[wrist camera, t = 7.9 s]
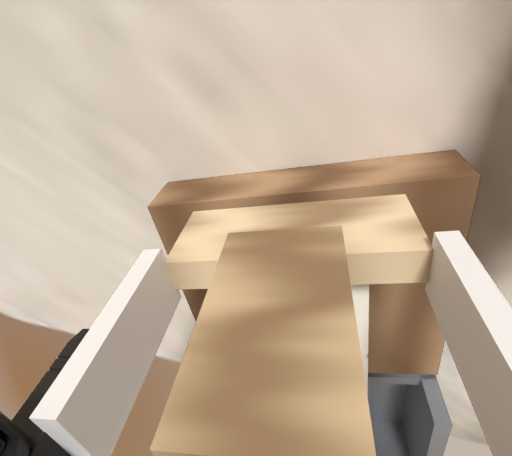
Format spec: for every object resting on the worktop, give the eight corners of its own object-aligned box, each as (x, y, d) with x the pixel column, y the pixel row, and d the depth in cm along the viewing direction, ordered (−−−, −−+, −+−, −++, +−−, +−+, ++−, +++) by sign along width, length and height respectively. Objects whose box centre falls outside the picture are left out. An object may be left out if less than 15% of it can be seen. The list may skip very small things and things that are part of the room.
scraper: (407, 167, 13) (606, 490, 4) (400, 243, 16) (525, 564, 7) (186, 189, 16) (16, 438, 7) (206, 254, 18) (100, 507, 9)
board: (455, 149, 16) (480, 174, 14) (424, 337, 24) (437, 374, 22) (167, 182, 20) (147, 207, 17) (224, 337, 28) (216, 369, 25)
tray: (424, 342, 25) (452, 425, 20) (411, 419, 31) (430, 496, 26) (225, 341, 28) (208, 411, 23) (251, 411, 35) (241, 478, 30)
